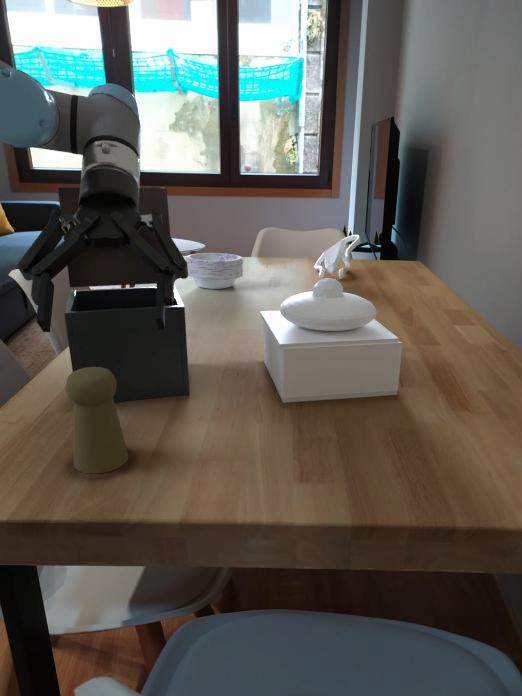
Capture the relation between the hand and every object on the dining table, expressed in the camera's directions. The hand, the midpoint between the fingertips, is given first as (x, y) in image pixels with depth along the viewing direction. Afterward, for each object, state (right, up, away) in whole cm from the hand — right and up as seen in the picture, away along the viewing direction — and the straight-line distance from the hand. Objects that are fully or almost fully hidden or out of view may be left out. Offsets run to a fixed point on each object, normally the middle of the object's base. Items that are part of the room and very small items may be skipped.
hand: (102, 325), depth 65 cm
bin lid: (-4, +15, +18) cm, 24 cm away
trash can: (-2, -7, +19) cm, 20 cm away
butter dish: (+28, -6, +23) cm, 36 cm away
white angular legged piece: (+38, +26, +100) cm, 110 cm away
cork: (+1, -16, -2) cm, 16 cm away
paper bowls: (+2, +20, +83) cm, 86 cm away
